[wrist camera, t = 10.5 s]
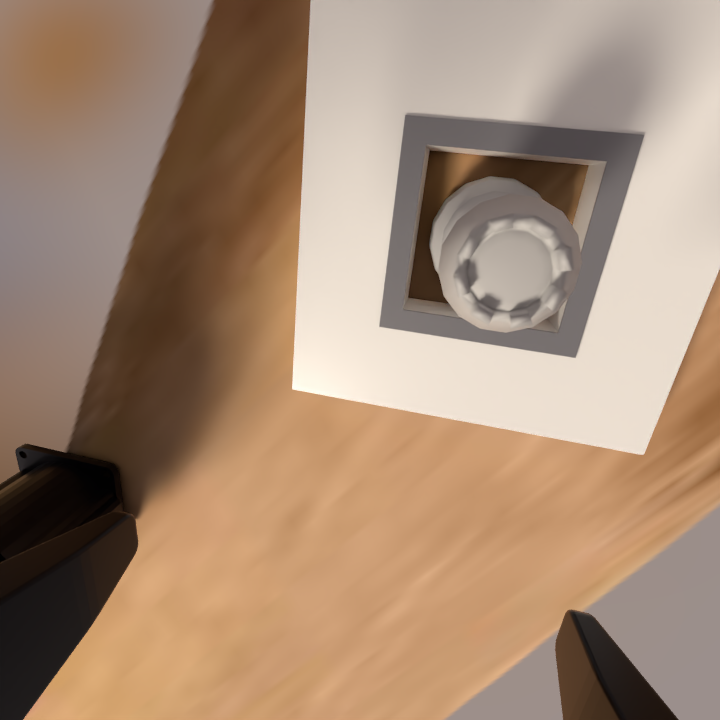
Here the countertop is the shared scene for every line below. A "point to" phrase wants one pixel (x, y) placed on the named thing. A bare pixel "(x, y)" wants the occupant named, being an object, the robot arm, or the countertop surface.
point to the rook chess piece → (504, 254)
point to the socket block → (521, 141)
